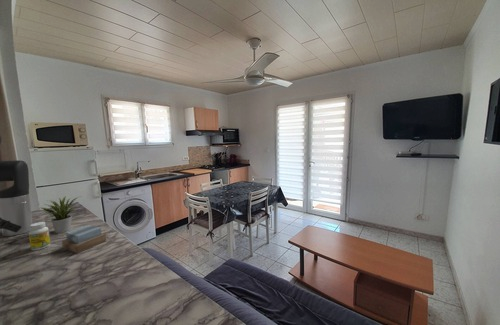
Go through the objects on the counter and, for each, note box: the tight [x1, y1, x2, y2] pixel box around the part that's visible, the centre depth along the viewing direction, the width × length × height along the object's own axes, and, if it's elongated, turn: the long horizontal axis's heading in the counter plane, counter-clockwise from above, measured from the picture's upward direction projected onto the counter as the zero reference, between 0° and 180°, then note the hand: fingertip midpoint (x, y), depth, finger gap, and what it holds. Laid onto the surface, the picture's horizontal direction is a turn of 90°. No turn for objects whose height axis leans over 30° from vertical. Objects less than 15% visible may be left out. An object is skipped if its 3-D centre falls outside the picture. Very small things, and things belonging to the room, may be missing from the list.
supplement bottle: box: [28, 221, 51, 251], centre depth 77 cm, size 5×5×10 cm
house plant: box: [40, 196, 82, 234], centre depth 93 cm, size 14×14×16 cm
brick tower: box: [61, 224, 107, 254], centre depth 80 cm, size 10×10×6 cm
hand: (13, 227), depth 71 cm, fingers open, 8 cm apart
